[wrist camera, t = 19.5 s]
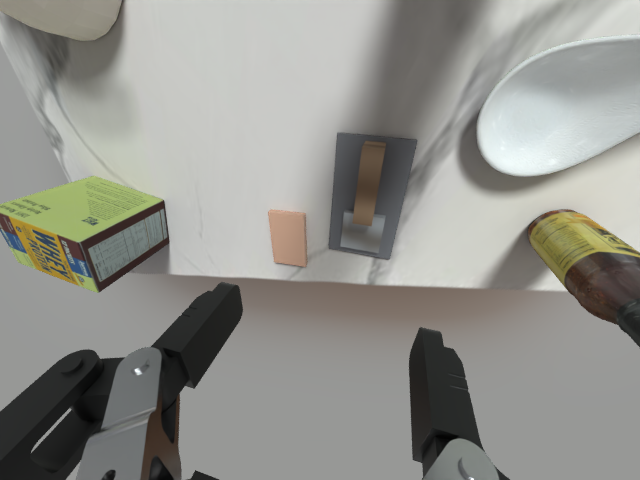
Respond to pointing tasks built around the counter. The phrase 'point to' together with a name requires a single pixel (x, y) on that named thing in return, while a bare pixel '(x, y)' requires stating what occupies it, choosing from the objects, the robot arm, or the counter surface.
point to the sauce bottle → (591, 266)
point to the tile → (288, 237)
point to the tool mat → (389, 188)
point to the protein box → (85, 231)
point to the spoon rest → (562, 106)
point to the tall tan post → (365, 203)
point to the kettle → (65, 16)
